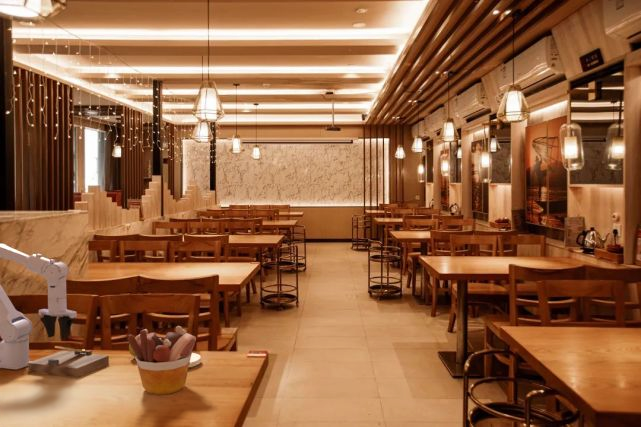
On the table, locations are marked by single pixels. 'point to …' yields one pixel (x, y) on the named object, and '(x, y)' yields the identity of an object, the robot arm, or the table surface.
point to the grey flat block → (68, 363)
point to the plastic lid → (195, 360)
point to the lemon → (132, 349)
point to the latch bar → (71, 349)
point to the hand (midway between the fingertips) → (58, 337)
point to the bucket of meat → (163, 360)
